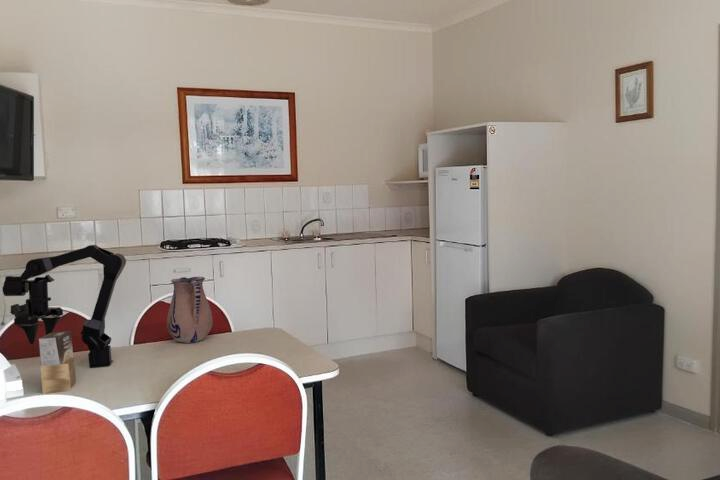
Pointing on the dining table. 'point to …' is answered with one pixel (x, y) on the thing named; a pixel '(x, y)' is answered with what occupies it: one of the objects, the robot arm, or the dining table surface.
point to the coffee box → (55, 348)
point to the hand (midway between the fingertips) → (40, 340)
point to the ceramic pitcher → (189, 311)
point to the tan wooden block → (58, 377)
